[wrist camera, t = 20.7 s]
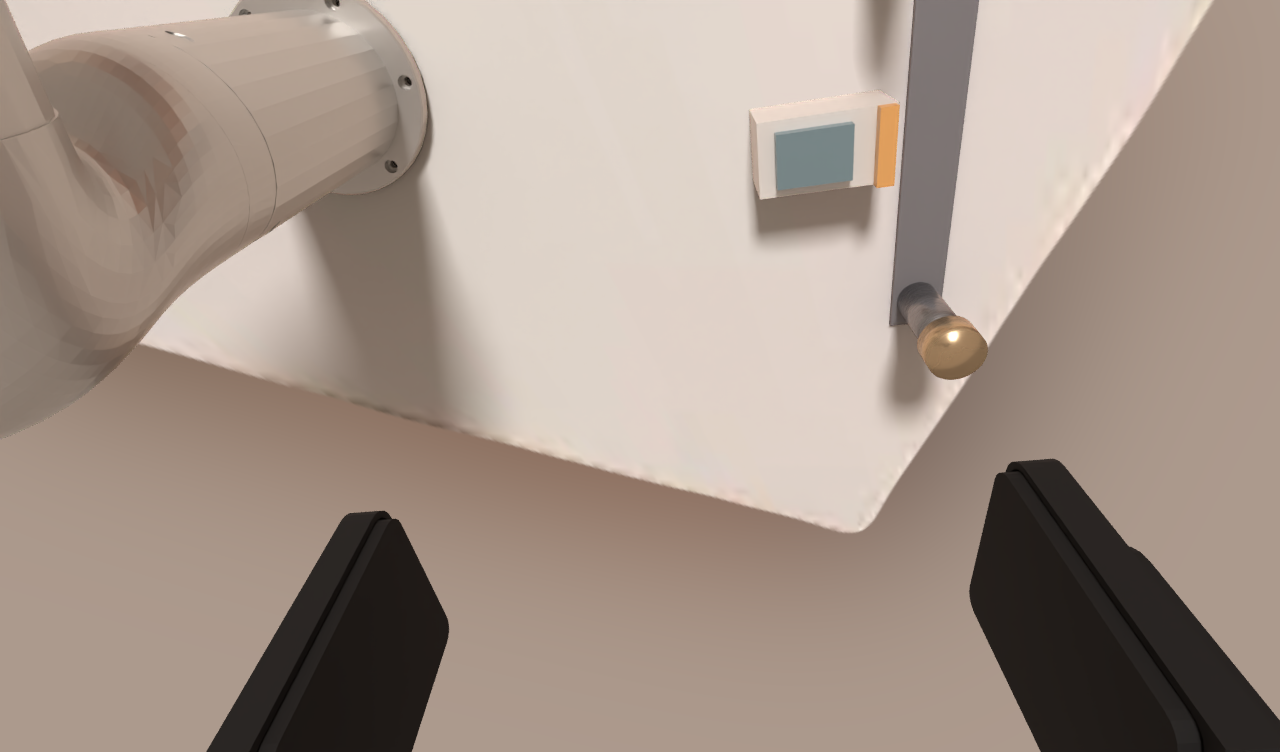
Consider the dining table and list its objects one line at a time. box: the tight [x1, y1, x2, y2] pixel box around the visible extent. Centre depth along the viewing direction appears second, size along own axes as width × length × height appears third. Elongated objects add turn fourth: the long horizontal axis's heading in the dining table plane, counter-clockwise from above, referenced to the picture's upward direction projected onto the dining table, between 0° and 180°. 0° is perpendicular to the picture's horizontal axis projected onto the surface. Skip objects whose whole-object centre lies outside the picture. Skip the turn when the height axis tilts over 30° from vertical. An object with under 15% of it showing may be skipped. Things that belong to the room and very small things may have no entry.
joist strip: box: [889, 0, 979, 325], centre depth 41 cm, size 4×24×1 cm, turn 9°
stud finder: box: [749, 90, 900, 200], centre depth 38 cm, size 8×4×5 cm, turn 99°
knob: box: [897, 282, 988, 380], centre depth 43 cm, size 4×4×8 cm
